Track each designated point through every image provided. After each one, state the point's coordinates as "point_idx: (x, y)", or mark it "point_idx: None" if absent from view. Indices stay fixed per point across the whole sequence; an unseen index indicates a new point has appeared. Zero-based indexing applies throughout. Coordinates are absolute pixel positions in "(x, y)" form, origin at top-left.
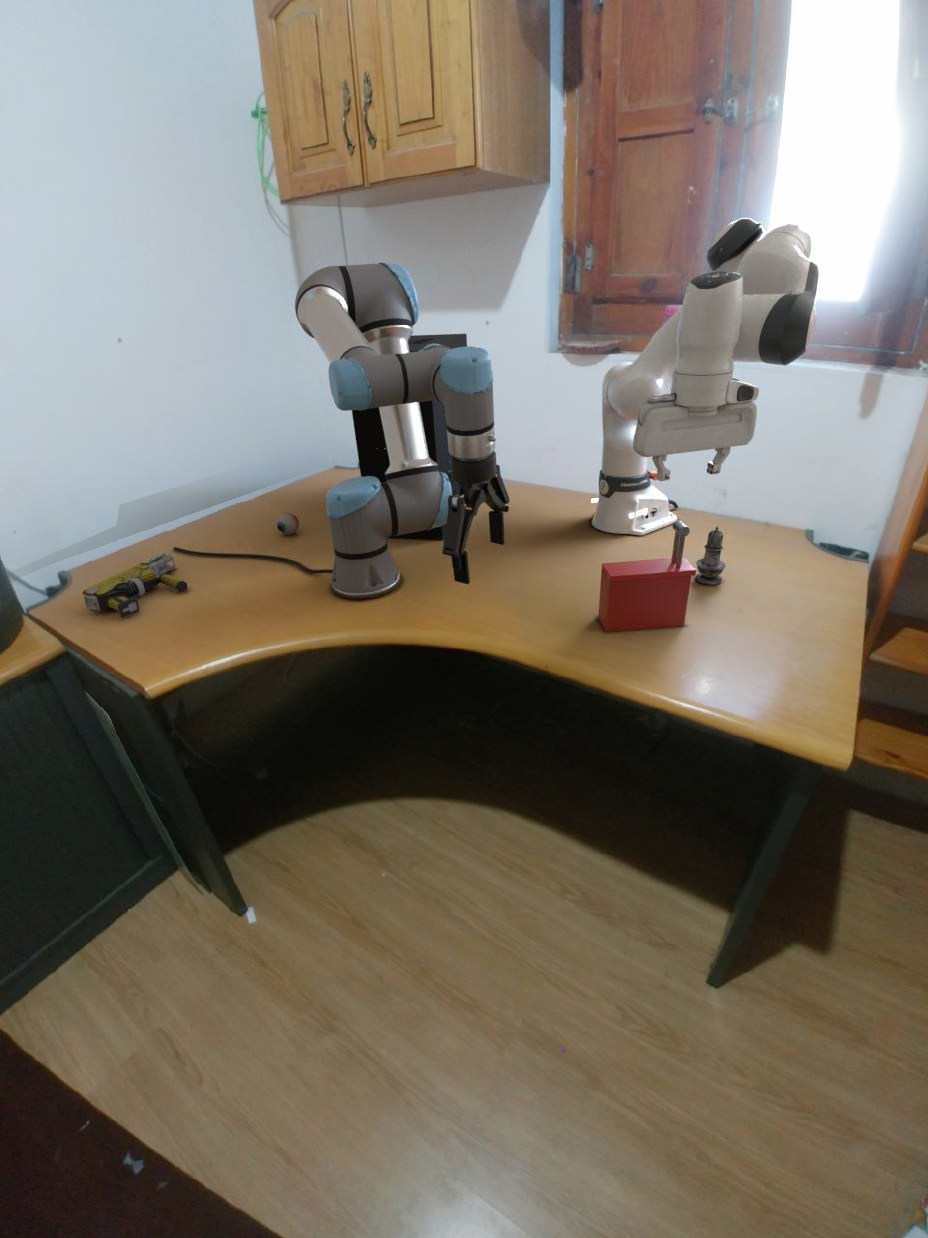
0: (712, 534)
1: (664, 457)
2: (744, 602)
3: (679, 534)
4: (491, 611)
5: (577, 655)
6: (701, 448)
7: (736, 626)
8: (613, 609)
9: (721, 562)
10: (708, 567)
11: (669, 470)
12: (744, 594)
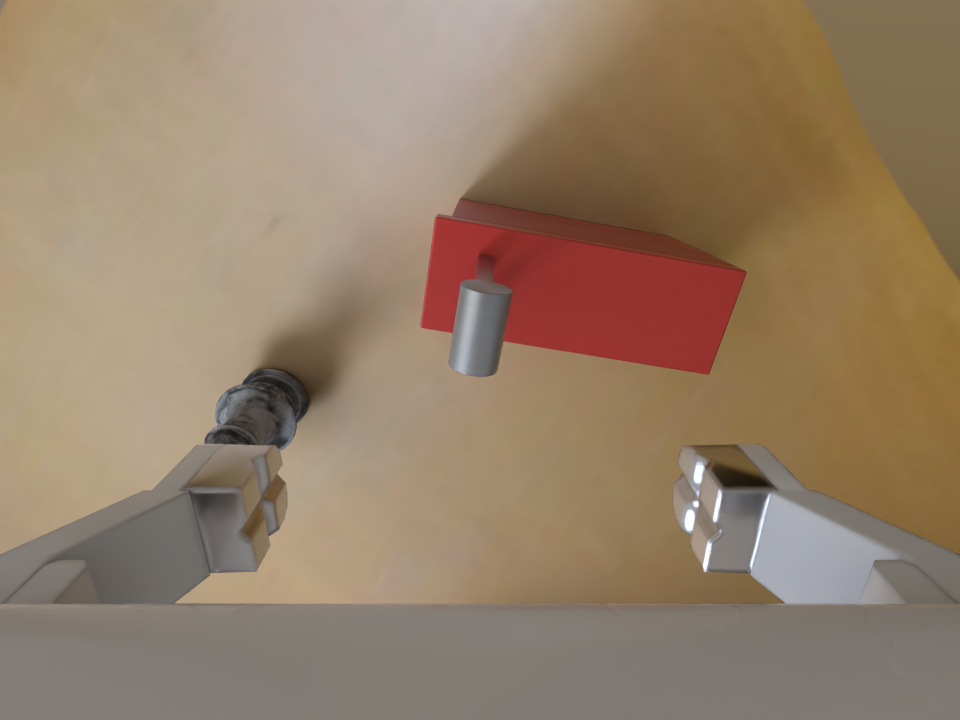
0: None
1: (931, 597)
2: (238, 260)
3: (508, 288)
4: (866, 419)
5: (801, 150)
6: (422, 618)
7: (324, 148)
8: (677, 244)
9: (226, 411)
10: (274, 401)
11: (731, 492)
12: (217, 299)
